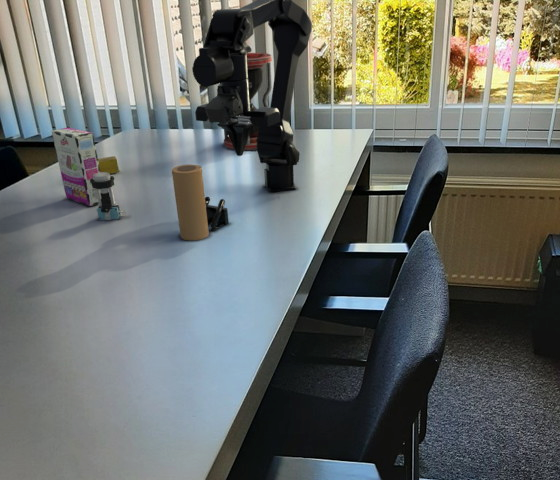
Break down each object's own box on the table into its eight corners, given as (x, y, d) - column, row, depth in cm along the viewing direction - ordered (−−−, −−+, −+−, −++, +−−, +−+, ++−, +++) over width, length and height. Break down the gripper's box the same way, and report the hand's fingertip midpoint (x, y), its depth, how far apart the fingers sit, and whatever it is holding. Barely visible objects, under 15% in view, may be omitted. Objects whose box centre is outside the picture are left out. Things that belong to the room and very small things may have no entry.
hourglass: (274, 149, 188) (270, 58, 174) (221, 151, 189) (213, 60, 175) (275, 137, 202) (272, 51, 188) (226, 139, 202) (219, 53, 188)
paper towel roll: (207, 187, 136) (172, 151, 123) (230, 191, 133) (196, 154, 121) (185, 246, 134) (147, 216, 122) (207, 250, 132) (171, 220, 119)
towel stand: (208, 220, 139) (205, 195, 136) (228, 223, 136) (226, 198, 133) (194, 227, 135) (191, 202, 132) (215, 231, 133) (212, 206, 130)
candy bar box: (107, 201, 153) (94, 132, 143) (90, 207, 150) (75, 136, 140) (82, 193, 159) (68, 126, 150) (65, 198, 156) (49, 130, 147)
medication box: (76, 180, 169) (73, 166, 167) (74, 176, 171) (71, 162, 169) (119, 172, 173) (117, 158, 171) (117, 169, 175) (114, 155, 173)
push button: (129, 213, 145) (121, 170, 139) (124, 221, 140) (116, 177, 135) (100, 214, 145) (92, 171, 139) (95, 222, 140) (86, 178, 135)
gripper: (175, 83, 128) (184, 160, 137) (250, 87, 120) (255, 169, 128) (207, 74, 136) (213, 148, 144) (280, 78, 128) (282, 156, 136)
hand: (239, 155), depth 138 cm, fingers closed
